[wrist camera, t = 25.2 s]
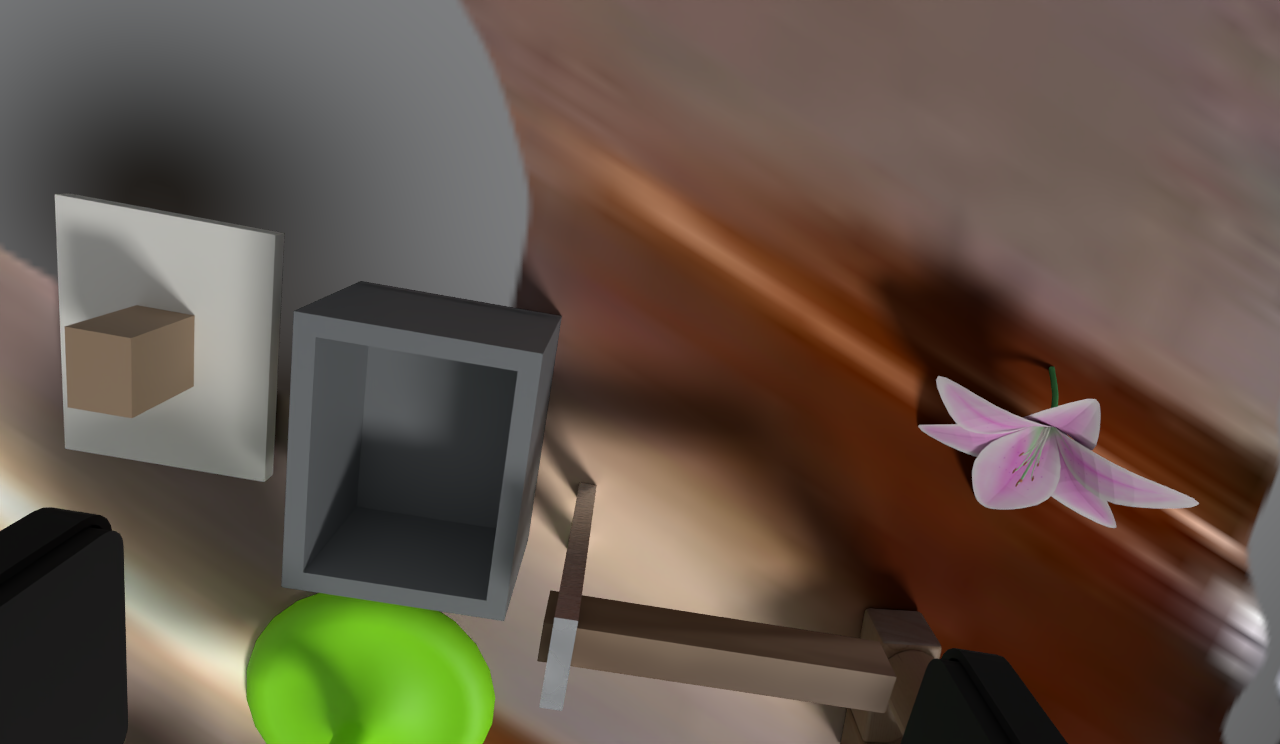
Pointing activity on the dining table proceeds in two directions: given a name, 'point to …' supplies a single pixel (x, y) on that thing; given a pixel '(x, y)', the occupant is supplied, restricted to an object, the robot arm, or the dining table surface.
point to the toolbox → (423, 456)
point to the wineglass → (367, 676)
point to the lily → (1043, 457)
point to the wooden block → (909, 652)
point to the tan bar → (726, 654)
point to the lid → (168, 336)
